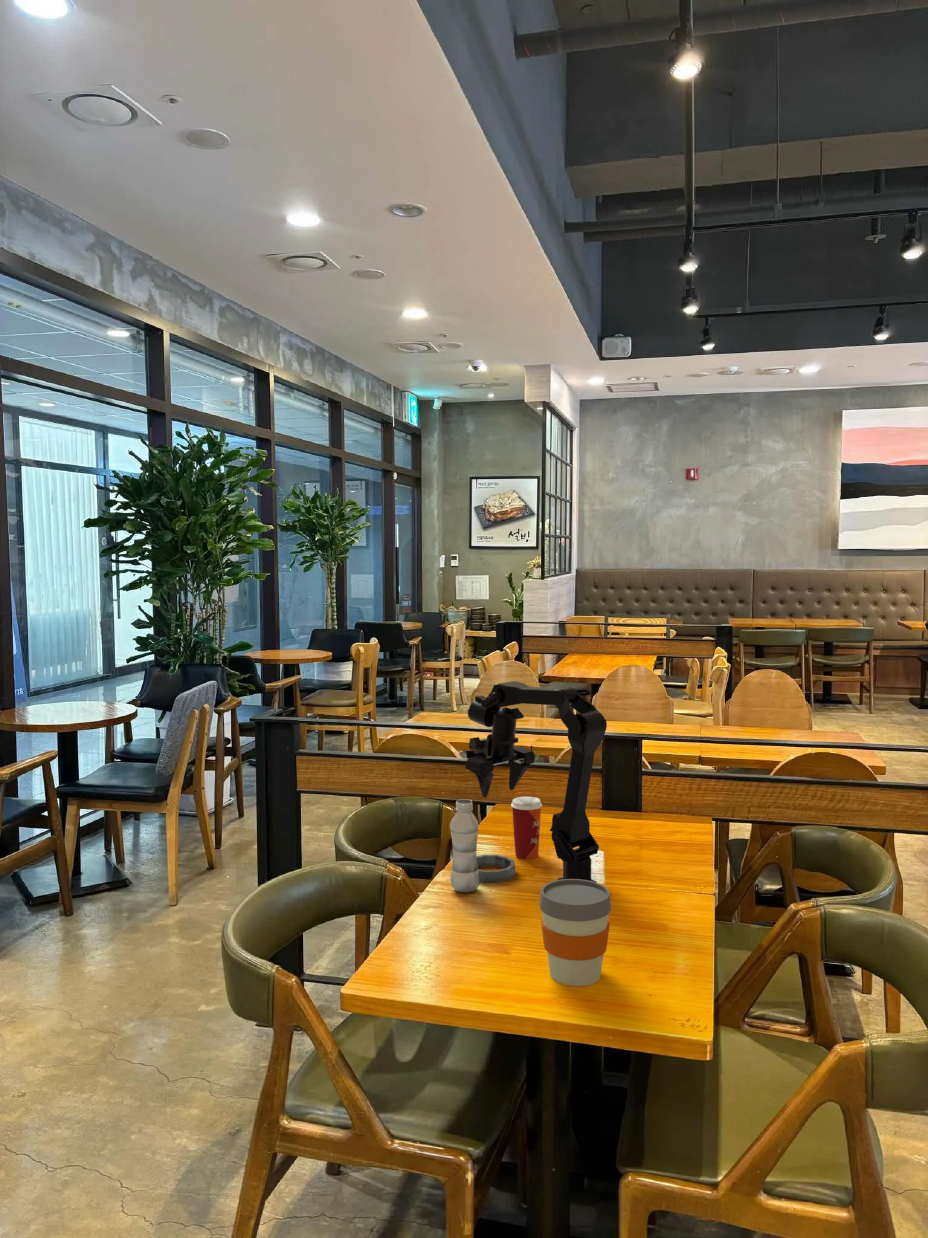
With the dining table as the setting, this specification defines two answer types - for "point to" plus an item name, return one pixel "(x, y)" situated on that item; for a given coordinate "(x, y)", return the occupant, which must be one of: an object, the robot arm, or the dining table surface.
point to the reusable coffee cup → (575, 929)
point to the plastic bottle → (464, 848)
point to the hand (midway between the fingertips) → (497, 793)
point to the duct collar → (495, 875)
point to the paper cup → (526, 826)
